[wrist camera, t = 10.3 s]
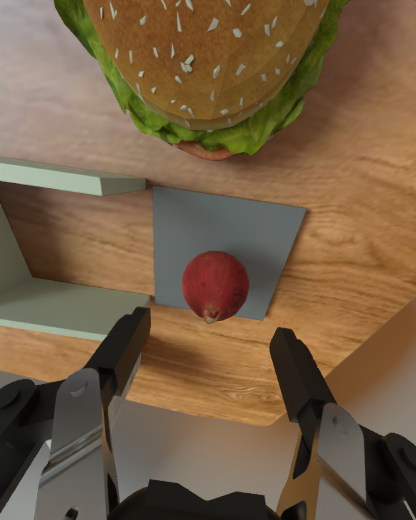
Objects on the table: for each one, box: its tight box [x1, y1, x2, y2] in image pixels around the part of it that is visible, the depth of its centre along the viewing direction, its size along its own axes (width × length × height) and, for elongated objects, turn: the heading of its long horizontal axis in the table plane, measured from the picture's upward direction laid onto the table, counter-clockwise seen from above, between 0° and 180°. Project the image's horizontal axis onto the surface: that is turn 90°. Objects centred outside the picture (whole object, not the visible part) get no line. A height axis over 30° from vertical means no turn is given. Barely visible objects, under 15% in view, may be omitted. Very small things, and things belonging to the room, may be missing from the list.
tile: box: [152, 186, 307, 321], centre depth 18 cm, size 14×14×1 cm
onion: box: [182, 251, 250, 324], centre depth 14 cm, size 6×6×8 cm
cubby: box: [0, 157, 151, 341], centre depth 16 cm, size 17×15×6 cm
